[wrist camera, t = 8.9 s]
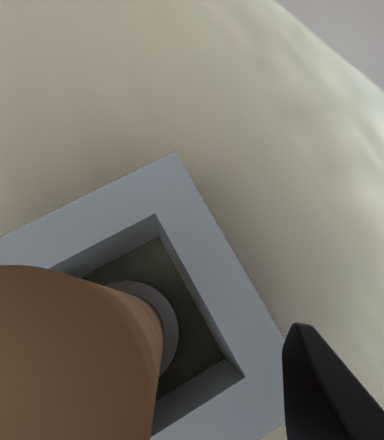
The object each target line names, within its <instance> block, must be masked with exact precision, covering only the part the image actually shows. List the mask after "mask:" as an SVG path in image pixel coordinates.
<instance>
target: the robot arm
mask: <svg viewBox="0 0 384 440" xmlns="http://www.w3.org/2000/svg"><path fill="white" fill-rule="evenodd" d="M282 372H283V394H284V413H285V425H286V433H287V439H288V440H384V410H383V409H382V408H381V407H380V405H379V404H378V403H377V402H376V401H375V400H374V398H373V397H372V396H371V395H370V394H369V392H368V391H367V390H366V389H365V388H364V386H363V385H362V384H361V383H360V382H359V380H358V379H357V378H356V377H355V376H354V375H353V373H352V372H351V371H350V370H349V369H348V367H347V366H346V365H345V364H344V363H343V361H342V360H341V359H340V358H339V357H338V356H337V354H336V353H335V352H334V351H333V350H332V348H331V347H330V346H329V345H328V344H327V342H326V341H325V340H324V339H323V338H322V336H321V335H320V334H319V333H318V332H317V331H316V329H315V328H314V327H313V326H311V325H309V324H303V323H293V324H292V326H291V328H290V330H289V333H288V335H287V337H286V340H285V342H284V344H283V348H282Z"/></svg>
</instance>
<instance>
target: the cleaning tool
mask: <svg viewBox="0 0 384 440" xmlns="http://www.w3.org/2000/svg"><path fill="white" fill-rule="evenodd" d="M178 338H179V328H178V322H177V318H176V315H175V312H174V310H173V308H172V306H171V305H170V303H169V302H168V300H167V299H166V298H165V297H164V296H163V295H162V294H161V293H160V292H159V291H157V290H156V289H155V288H153V287H151V286H149V285H147V284H144V283H141V282H137V281H119V282H114V283H111V284H108V285H106V286H102V285H99V284H96V283H93V282H90V281H86V280H83V279H80V278H77V277H74V276H70V275H67V274H64V273H61V272H58V271H54V270H50V269H46V268H42V267H37V266H27V265H0V440H150V436H151V429H152V422H153V415H154V408H155V400H156V393H157V386H158V379H159V377H160V376H161V375H162V374H163V373H164V372H165V371H166V370H167V368H168V367H169V365H170V364H171V362H172V360H173V358H174V356H175V353H176V350H177V345H178Z"/></svg>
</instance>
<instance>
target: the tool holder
mask: <svg viewBox="0 0 384 440" xmlns="http://www.w3.org/2000/svg"><path fill="white" fill-rule="evenodd" d="M158 236H159V238H160V240H161V242H162V243H163V245H164V247H165V249H166V251H167V253H168V254H169V256H170V258H171V260H172V262H173V264H174V265H175V267H176V269H177V271H178V273H179V275H180V276H181V278H182V280H183V282H184V284H185V286H186V287H187V289H188V291H189V293H190V295H191V296H192V298H193V300H194V302H195V304H196V306H197V307H198V309H199V311H200V313H201V315H202V317H203V318H204V320H205V322H206V324H207V326H208V328H209V329H210V331H211V333H212V335H213V337H214V339H215V340H216V342H217V344H218V346H219V348H220V350H221V351H222V353H223V355H224V357H225V359H223V360H221V361H220V362H218V363H217V364H215V365H213V366H212V367H210V368H208V369H207V370H205V371H204V372H202V373H200V374H199V375H197V376H195V377H194V378H192V379H191V380H189V381H187V382H186V383H184V384H182V385H181V386H179V387H178V388H176V389H174V390H173V391H171V392H170V393H168V394H166V395H165V396H163V397H161V398H160V399H158V400H157V401H155V408H154V415H153V422H152V429H151V436H150V440H259V439H260V438H262V437H263V436H265V435H266V434H268V433H269V432H271V431H272V430H274V429H275V428H277V427H278V426H280V425H281V424H283V423H284V422H285V413H284V394H283V372H282V348H283V344H284V342H285V339H284V337H283V335H282V334H281V332H280V330H279V328H278V327H277V325H276V323H275V322H274V320H273V318H272V316H271V315H270V313H269V311H268V310H267V308H266V306H265V304H264V303H263V301H262V299H261V298H260V296H259V294H258V292H257V291H256V289H255V287H254V286H253V284H252V282H251V280H250V279H249V277H248V275H247V274H246V272H245V270H244V268H243V267H242V265H241V263H240V262H239V260H238V258H237V256H236V255H235V253H234V251H233V250H232V248H231V246H230V244H229V243H228V241H227V239H226V238H225V236H224V234H223V232H222V231H221V229H220V227H219V226H218V224H217V222H216V220H215V219H214V217H213V215H212V214H211V212H210V210H209V208H208V207H207V205H206V203H205V202H204V200H203V198H202V196H201V195H200V193H199V191H198V190H197V188H196V186H195V185H194V183H193V181H192V179H191V178H190V176H189V174H188V173H187V171H186V169H185V167H184V166H183V164H182V162H181V161H180V159H179V157H178V155H177V154H176V152H175V151H174V152H172V153H170V154H168V155H166V156H164V157H162V158H160V159H158V160H156V161H153V162H151V163H149V164H147V165H145V166H143V167H141V168H139V169H137V170H135V171H133V172H131V173H129V174H127V175H125V176H123V177H121V178H119V179H117V180H115V181H113V182H111V183H109V184H107V185H105V186H103V187H100V188H98V189H96V190H94V191H92V192H90V193H88V194H86V195H84V196H82V197H80V198H78V199H76V200H74V201H72V202H70V203H68V204H66V205H64V206H62V207H60V208H58V209H56V210H54V211H52V212H50V213H47V214H45V215H43V216H41V217H39V218H37V219H35V220H33V221H31V222H29V223H27V224H25V225H23V226H21V227H19V228H17V229H15V230H13V231H11V232H9V233H7V234H5V235H3V236H1V237H0V265H27V266H37V267H42V268H46V269H50V270H54V271H58V272H61V273H64V274H67V275H70V276H74V277H77V278H81V277H83V276H85V275H87V274H89V273H91V272H93V271H94V270H96V269H98V268H100V267H102V266H104V265H106V264H108V263H109V262H111V261H113V260H115V259H117V258H119V257H121V256H123V255H125V254H126V253H128V252H130V251H132V250H134V249H136V248H138V247H140V246H141V245H143V244H145V243H147V242H149V241H151V240H153V239H155V238H157V237H158Z"/></svg>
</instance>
